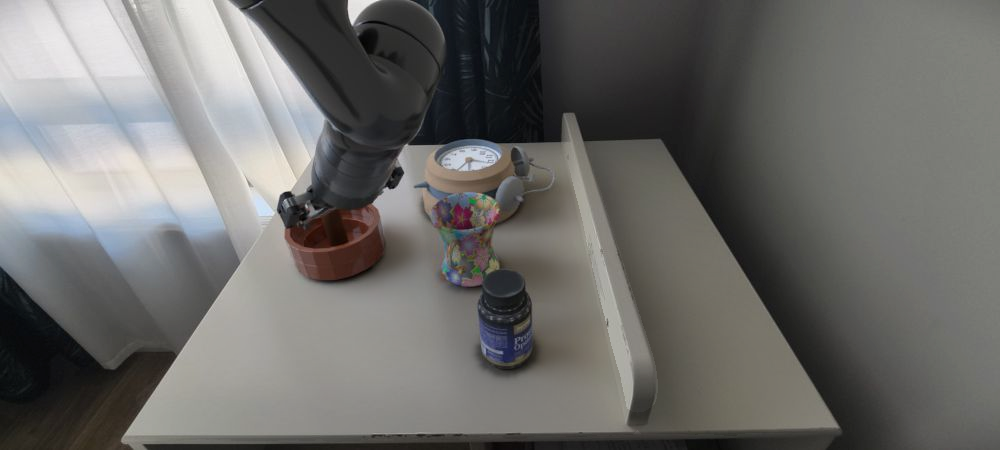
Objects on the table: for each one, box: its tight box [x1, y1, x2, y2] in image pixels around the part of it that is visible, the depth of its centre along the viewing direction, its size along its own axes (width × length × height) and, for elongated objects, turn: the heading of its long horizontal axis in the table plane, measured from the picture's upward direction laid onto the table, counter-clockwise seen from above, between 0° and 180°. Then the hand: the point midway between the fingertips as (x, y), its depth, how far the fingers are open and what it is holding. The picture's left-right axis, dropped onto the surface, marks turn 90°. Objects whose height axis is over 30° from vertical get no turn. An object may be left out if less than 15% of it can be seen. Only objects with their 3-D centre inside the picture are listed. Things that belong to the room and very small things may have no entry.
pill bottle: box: [477, 268, 533, 370], centre depth 56 cm, size 6×6×11 cm
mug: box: [429, 192, 501, 288], centre depth 67 cm, size 12×9×11 cm
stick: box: [321, 206, 349, 247], centre depth 72 cm, size 3×3×12 cm
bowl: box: [283, 203, 387, 281], centre depth 74 cm, size 14×14×6 cm
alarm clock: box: [413, 138, 556, 225], centre depth 83 cm, size 17×9×23 cm
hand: (335, 209), depth 63 cm, fingers open, 8 cm apart
